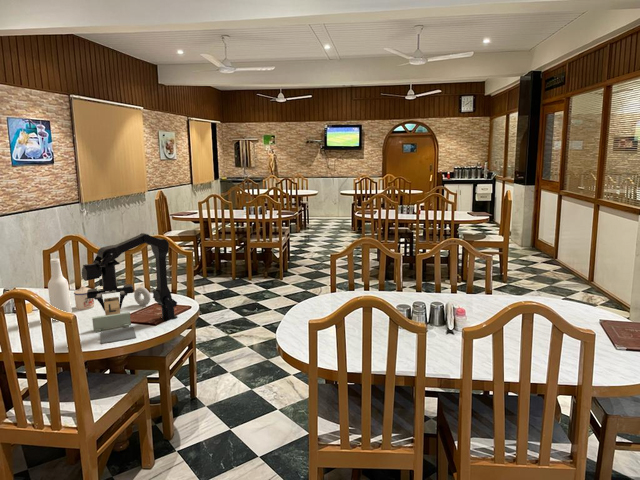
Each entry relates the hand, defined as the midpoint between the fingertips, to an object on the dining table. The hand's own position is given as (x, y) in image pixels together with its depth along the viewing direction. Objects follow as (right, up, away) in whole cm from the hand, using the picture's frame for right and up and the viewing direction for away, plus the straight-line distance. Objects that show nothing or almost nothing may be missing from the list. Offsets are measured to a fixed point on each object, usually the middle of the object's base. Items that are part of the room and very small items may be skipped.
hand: (112, 309), depth 213 cm
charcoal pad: (+2, -12, 0) cm, 12 cm away
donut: (-2, -4, +41) cm, 41 cm away
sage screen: (-4, -10, +10) cm, 15 cm away
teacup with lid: (-31, -5, +41) cm, 52 cm away
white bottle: (-36, -8, +24) cm, 44 cm away
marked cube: (0, -1, 0) cm, 1 cm away
